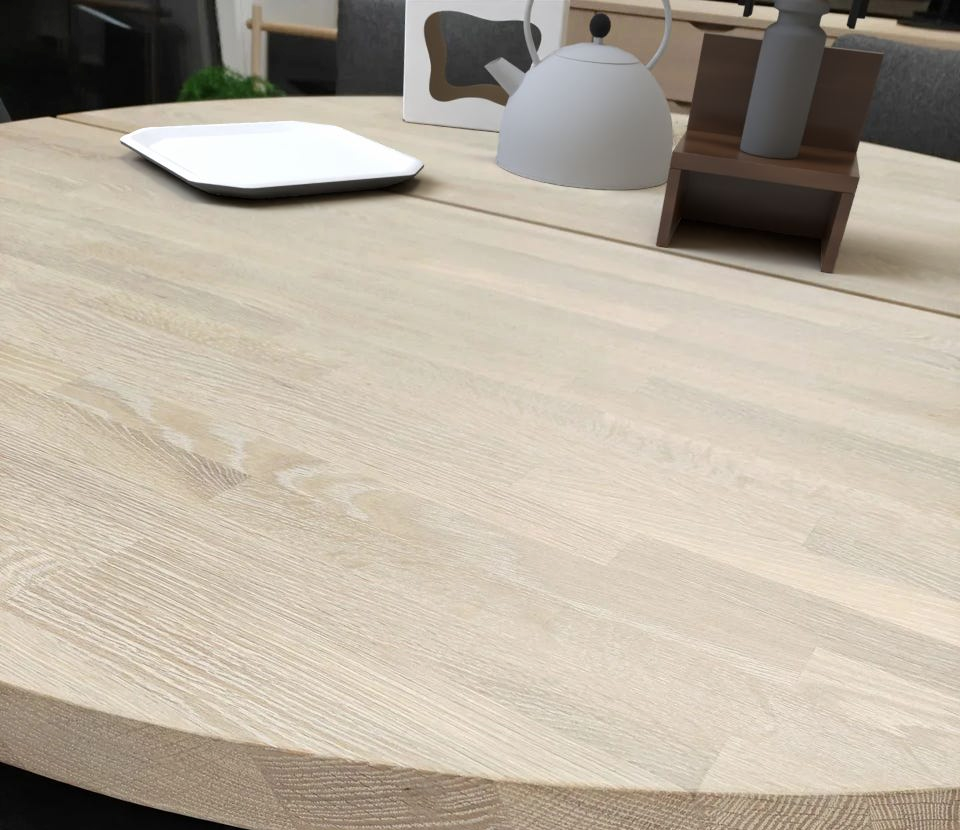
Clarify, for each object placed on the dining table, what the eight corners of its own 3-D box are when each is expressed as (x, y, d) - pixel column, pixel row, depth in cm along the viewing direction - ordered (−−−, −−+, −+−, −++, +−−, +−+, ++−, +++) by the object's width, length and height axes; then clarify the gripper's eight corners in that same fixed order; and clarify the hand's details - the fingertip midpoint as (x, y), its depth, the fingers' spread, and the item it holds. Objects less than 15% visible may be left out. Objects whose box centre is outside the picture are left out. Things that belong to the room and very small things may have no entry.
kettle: (481, 180, 120) (497, -46, 106) (475, 141, 138) (488, -57, 124) (684, 195, 122) (725, -25, 108) (652, 154, 140) (684, -39, 126)
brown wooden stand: (671, 214, 114) (705, 31, 103) (831, 238, 111) (883, 52, 100) (655, 245, 103) (691, 45, 92) (832, 273, 100) (890, 69, 89)
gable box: (400, 121, 145) (406, -120, 128) (417, 106, 155) (424, -118, 138) (552, 138, 144) (578, -103, 127) (558, 122, 154) (583, -103, 137)
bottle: (802, 152, 102) (845, -22, 93) (791, 162, 98) (836, -20, 89) (746, 143, 104) (783, -29, 95) (733, 152, 99) (771, -28, 90)
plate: (209, 212, 100) (207, 188, 99) (107, 149, 118) (104, 128, 117) (445, 190, 115) (446, 169, 114) (322, 137, 133) (322, 118, 131)
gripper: (955, -205, 85) (890, 28, 95) (751, -219, 88) (710, 9, 98) (964, -214, 79) (894, 36, 89) (746, -229, 82) (703, 14, 92)
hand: (798, 21), depth 94 cm, fingers open, 9 cm apart
